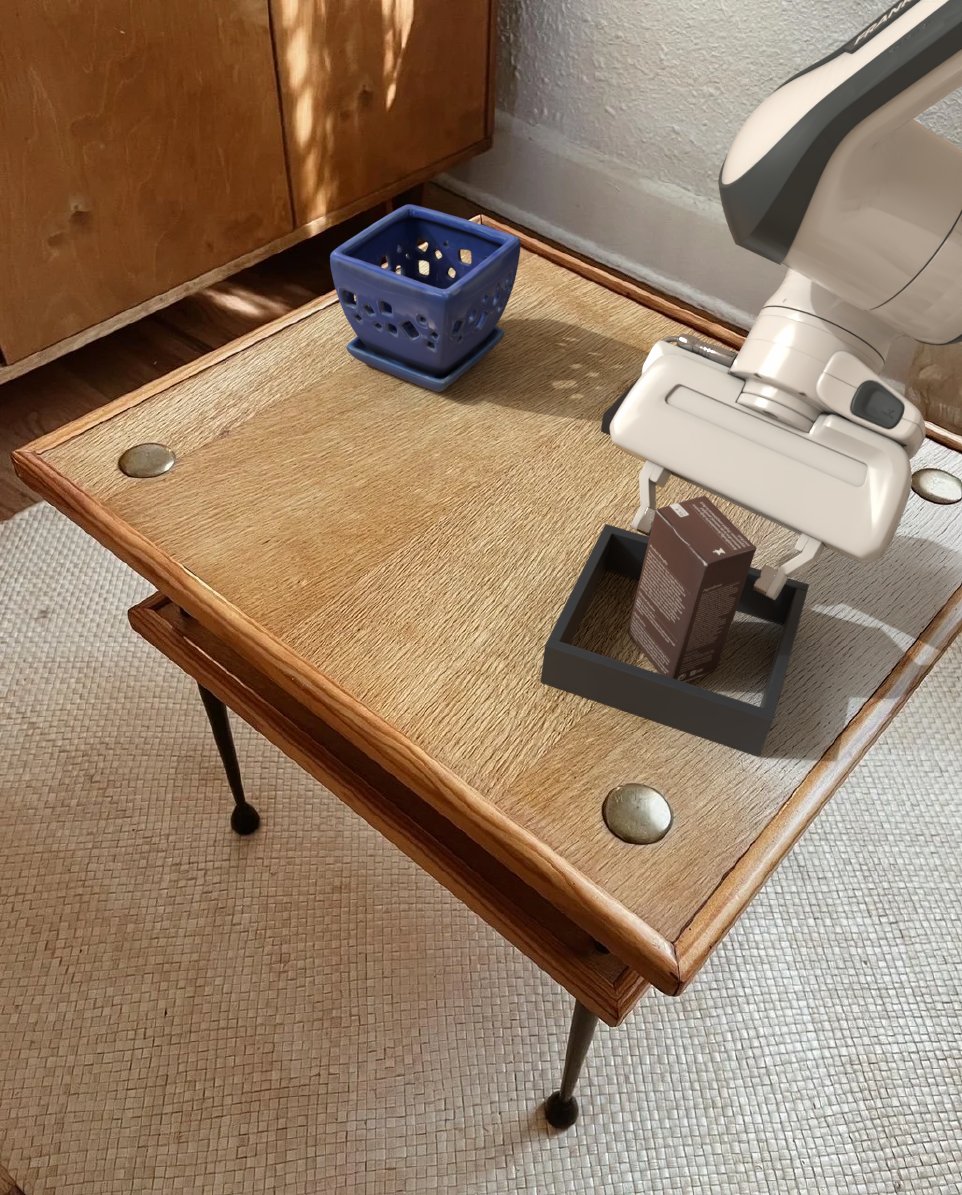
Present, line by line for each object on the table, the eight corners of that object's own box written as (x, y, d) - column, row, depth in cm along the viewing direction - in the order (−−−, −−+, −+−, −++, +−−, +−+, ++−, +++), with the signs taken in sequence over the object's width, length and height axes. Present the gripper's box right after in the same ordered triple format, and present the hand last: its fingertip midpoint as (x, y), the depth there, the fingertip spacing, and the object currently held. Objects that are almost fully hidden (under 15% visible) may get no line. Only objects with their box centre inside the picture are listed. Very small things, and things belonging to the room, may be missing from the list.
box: (721, 669, 74) (760, 547, 65) (668, 689, 72) (702, 567, 64) (674, 613, 78) (706, 491, 69) (623, 631, 76) (649, 508, 67)
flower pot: (330, 367, 98) (321, 251, 90) (409, 309, 107) (407, 197, 98) (446, 414, 94) (448, 296, 85) (519, 349, 102) (528, 236, 93)
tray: (795, 621, 78) (809, 583, 75) (758, 757, 69) (773, 720, 66) (599, 561, 81) (605, 523, 78) (539, 682, 72) (544, 645, 69)
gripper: (653, 308, 70) (559, 490, 71) (948, 426, 62) (835, 629, 63) (674, 339, 75) (587, 507, 77) (946, 450, 67) (842, 635, 69)
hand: (700, 563), depth 70 cm, fingers open, 8 cm apart
